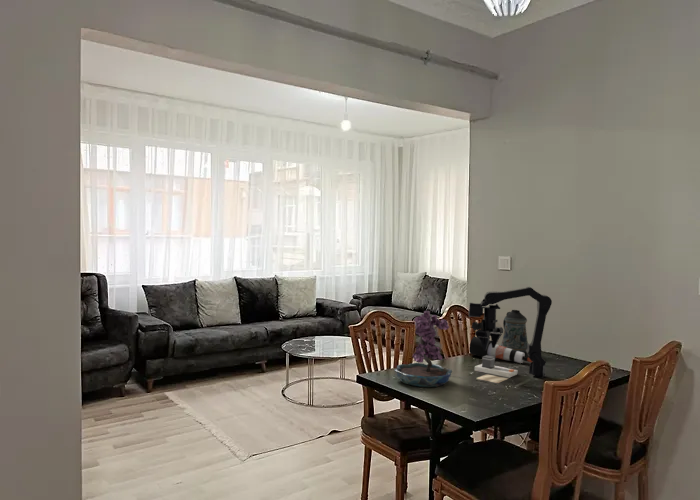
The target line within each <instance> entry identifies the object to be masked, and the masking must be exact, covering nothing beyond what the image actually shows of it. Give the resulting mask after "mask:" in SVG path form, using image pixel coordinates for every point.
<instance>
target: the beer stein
mask: <svg viewBox="0 0 700 500" xmlns="http://www.w3.org/2000/svg"><path fill="white" fill-rule="evenodd" d="M502 320H503V323H502V326H503V327H502V328H503V336H502V340H501V344H500V346H503V347H507V348H509V349H513V350H516V351H519V352H523V353H525V356H526V357H528V355H527V352H526V349H527V343H529V342H528V334H527V327H526V326H527V325H526V323H527V322H528V319H527V317H526V316H525V315H523V314H522V313H521V312H520V310H517V309H511V311H507V312H506V315H505V316H504V319H502Z"/></svg>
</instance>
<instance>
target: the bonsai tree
mask: <svg viewBox="0 0 700 500" xmlns="http://www.w3.org/2000/svg"><path fill="white" fill-rule="evenodd" d="M413 320H414V322H415V323H414V325H415V327H414V328H415V334H416V335H418V336H419V338H418V346H416V347H415V352H414V353H413V354H412V356H411V357H412V358H413V360H414V361H415V362H413V363H409V364H403V363H401V364H398V365H397V366H396V368H394V370H393V372H394V375H395V377H396V378H397V379H398V380H400V382H402V383H403V384H405V385H408V386H413V387H419V388H420V387H421V388H432V387H433V388H436V387H437V388H438V387H440V386H441V387H442V386H444V385H445V384H447V383H448V382H449V380H450V378H451V375H452V372H453V371H452V369H451V368H447V367H443V366H442V365H439V364H434V363H432V360H439V361H441V360H443V356H442V354H441V352H440V347H439V346H436V339H435V337H436V335H437V333H436V329H435V327H436V328H437V329H438V330H444V331H446V330H448V329H449V328H450V327H449V323H448V321H447V319H441V320H440V318H438V315H437V314H432V315H431V311H429V310H424V311H423V313H422V314H421V315H419V316H416V317H414V318H413V319H412V321H413ZM434 326H435V327H434ZM424 360H425V361H424ZM423 362H426V363H427V364H426V363H423Z"/></svg>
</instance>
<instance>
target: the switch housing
mask: <svg viewBox="0 0 700 500" xmlns="http://www.w3.org/2000/svg"><path fill="white" fill-rule="evenodd" d="M474 372H478V373H479V372H480V373H485V374H488V375H493V376H498V377H503V378H508V379H509V378H511V377H514V376H517V375H518V369H513V368H509V367H508V368H507V367H503V366H498V365H494V368H492V369H489V368H484V367H482V363H481V364H478V365H475V366H474Z"/></svg>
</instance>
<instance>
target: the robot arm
mask: <svg viewBox="0 0 700 500" xmlns="http://www.w3.org/2000/svg"><path fill="white" fill-rule="evenodd" d="M526 296H528V297H529V296H530V298H532V299H534V301H536V310H537V311H536V312H537V314H536V320H535V324H534V329H533V334H532V339H531V342H530V343H529V342H528V343H527V349H526V352H527V355H528V356H527V357H528V358H530V360H531V361H532V362H529V363H530V365H529V366H528V367H529V368H528V374H530V375H533V376H532V377H533V378H538V379H544V378H546V377H547V374H546V363H547V362H546V360H545V359H544V358H543V357H542V339H543V335H544V334H543V333H544V329H545V323H546V318H547V314H548V313H549V311H550V310H551V306H552V303H553V302H552V298H551V297H550V296H548V295H546V294H541V293H540V292H539V291H537V290H535V289H534V288H533V287H530V286H526V287H522V288H517V289H511V290H505V291H487V292H486V293H485V294H484V298H483V299H482V300H481V301H480V303H474V302H469V307H468V317H469V318H470V317H472V318H481V317H482V316H483V319H481V322H478V321H473V322H472V324H471V329H473V331H475V335H474V337H478V338H479V339H480V340H481V343H482V347H483V350H484V351H486V349H487V346H488V343H489V340H491V341H492V348H495V346H496V345H498V342H499V339H500V338H501V337H502V335H503V334H504V327H501V326H497V322H498V319H497V310H500V309H501V307H500V305H498V303H500V302H503V301H505V300H510V299H516V298H522V297H526Z"/></svg>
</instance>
